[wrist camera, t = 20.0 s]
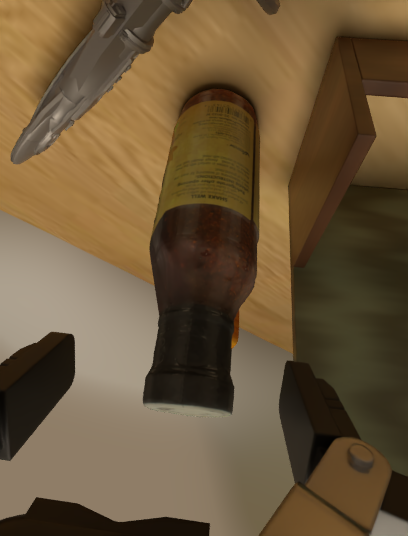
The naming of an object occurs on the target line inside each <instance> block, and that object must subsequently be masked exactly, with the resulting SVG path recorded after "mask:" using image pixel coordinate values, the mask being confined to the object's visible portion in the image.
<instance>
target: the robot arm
mask: <svg viewBox="0 0 408 536" xmlns="http://www.w3.org/2000/svg"><path fill="white" fill-rule="evenodd" d="M74 375H75V340H74V336H73V335H72V334H66V333H59V332H50V333H49V334H48V335H46V336H45V337H44V338H42V339H41V340H40V341H39V342H37V343H33V344H31V345H29V346H26V347H24V348H22V349H20V350H18V351H17V352H16V353H14V354H13V355H12V356H10V358H9V359H6V360H5V361H4V362H2V363H1V365H0V459H1V460H8V461H10V460H11V459H12V458H13V457H14V455H15V454H16V453H17V452H18V451H19V449H20V448H21V447H22V446H23V445H24V443H25V442H26V441H27V440H28V438H29V437H30V436H31V435H32V434H33V432H34V431H35V430H36V429H37V427H38V426H39V425H40V424H41V422H42V421H43V420H44V419H45V418H46V416H47V415H48V414H49V413H50V411H51V410H52V409H53V408H54V407H55V405H56V404H57V403H58V402H59V400H60V399H61V398H62V397H63V395H64V394H65V393H66V392H67V391H68V389H69V388H70V386H71V385H72V382H73V379H74ZM279 413H280V419H281V424H282V428H283V432H284V436H285V441H286V445H287V450H288V454H289V459H290V462H291V468H292V472H293V476H294V481H295V485H294V486H293V487H292V488H291V490H290V491H289V493H288V494H287V496H286V497H285V498H284V500H283V501H282V503H281V504H280V506H279V507H278V508H277V510H276V511H275V513H274V514H273V516H272V517H271V519H270V520H269V521H268V523H267V524H266V526H265V527H264V528H263V530H262V531H261V533H260V534H259V536H408V477H407V476H405V475H402V474H400V473H397V472H395V471H393V470H392V469H391V466H390V464H389V462H388V460H387V459H386V458H385V456H384V455H383V454H382V453H381V452H380V451H379V450H377V449H376V448H375V447H373V446H372V445H370V444H369V443H367V442H365V441H362V440H361V438H360V436H359V434H358V432H357V430H356V429H355V427H354V425H353V423H352V421H351V419H350V417H349V415H348V414H347V412H346V410H345V408H344V406H343V404H342V402H341V401H340V399H339V397H338V395H337V393H336V391H335V389H334V388H333V387H332V386H331V385H329V384H328V383H327V382H326V381H325V380H324V379H320V378H316V377H315V375H314V373H313V371H312V369H311V367H310V365H309V363H304V362H296V361H287V362H286V365H285V369H284V375H283V381H282V387H281V393H280V399H279ZM209 527H210V523H203V522H197V521H190V520H183V519H177V518H169V517H161V518H153V519H144V520H136V521H127V522H116V521H113V520H111V519H109V518H107V517H104V516H103V515H100V514H98V513H96V512H94V511H92V510H90V509H88V508H86V507H84V506H82V505H80V504H77V503H71V502H64V501H57V500H51V499H44V498H38V497H36V499H35V500H34V502H33V503H32V505H31V506H30V508H29V510H28V511H27V513H26V514H23V515H17V516H13V517H9V518H6V519H3V520H0V536H209V529H210V528H209Z"/></svg>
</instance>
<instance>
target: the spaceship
mask: <svg viewBox="0 0 408 536" xmlns="http://www.w3.org/2000/svg"><path fill="white" fill-rule="evenodd" d="M191 2H192V0H102V3H101V7H102V8H101V10H100V11H99V13H98V14H97V16H96V17H95V19H94V20H93V23H94V24H93V29H92V30H91V31H90V33H89V34H88V35H87V36H86V37H85V38H84V39H83V41H82V42H81V43H80V44H79V46H78V47H77V48H76V49H75V51H74V52H73V53H72V54H71V56H70V57H69V58H68V60H67V61H66V62H65V64H64V65H63V67H62V68H61V69H60V71H59V72H58V74H57V75H56V77H55V78H54V80H53V81H52V83H51V84H50V86H49V88H48V89H47V91H46V92H45V94H44V96H43V97H42V99H41V101H40V103H39V105H38V107H37V109H36V111H35V113H34V115H33V117H32V119H31V122H30V123H29V125H28V126H27V127H26V128H24V129H23V133H22V134H21V135H20V137H19V139H18V141H17V143H16V145H15V146H14V148H13V150H12V153H11V161H12V162H13V164H21V163H23V162H24V161H26V160H28V159H29V158H31V157H32V156H34V155H38V154H40V153H41V152H43V151H45V150H46V149H48V148H49V147H50V146H51V145H52V144H53V143H54V142H55V141H56V140H57V138H58V137H59V136H60V133H61V132H62V131H63V130H64V129H65V128H66V129H65V130H66V131H67V129H68V128H70V127H71V126H73V124H74V122H75V120H78V119H80V118H81V117H82V116H83V115H84V114H85V113H86V112H87V111H89V110H90V109H91V108H92V107H93V106H94V105H95V104H96V103H97V102H98V101H99V100H100V99H101V98H102V96H103V95H104V94H105V93H106V92H109V91H110V90H112V89H113V86H112V85H113V84H114V83H117V82H118V81H119V80H121V78H122V77H121V75H122V74H123V73H124V72H125V73H126V71H127V70H129V69H130V68H131V64H132V62H133V61H134V59H135V58H136V57H137V56H138V55H139V54H144V53H146V52H149V51H150V49H151V46H153V43H154V39H153V36H154V34H155V31H156V29H157V28H158V27H159V26H160V25H161V23H162V22H163V21H164V20H165V19H166V18H167V16H168V15H169V14H170V13H171V12H172V11H173V12H174V13H176V14H180V13H182V12H183V11H185V10H186V8H188V7H189V5H190V3H191ZM257 2H258V3H259V4H260V6H261V7H262V8H263V10H264V11H265V12H266V13H267V14H268V15H272V14H276V13H277V11H278V9H279V7H280V3H279V0H257ZM125 70H126V71H125Z"/></svg>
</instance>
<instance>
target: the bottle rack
mask: <svg viewBox="0 0 408 536" xmlns="http://www.w3.org/2000/svg"><path fill="white" fill-rule="evenodd" d="M366 95H373V96H387V97H401V98H408V41H395V40H379V39H364V38H350V37H336V40H335V43H334V46H333V49H332V52H331V56H330V59H329V62H328V65H327V68H326V71H325V74H324V77H323V80H322V83H321V87H320V90H319V93H318V96H317V99H316V102H315V105H314V108H313V111H312V114H311V117H310V121H309V124H308V127H307V130H306V133H305V136H304V139H303V142H302V145H301V148H300V152H299V155H298V158H297V161H296V164H295V167H294V170H293V173H292V176H291V179H290V183H289V186H288V194H289V228H290V262H291V295H292V329H293V361H296V362H304V363H309V365H310V367H311V369H312V371H313V373H314V375H315V377H316V378H320V379H324V380H325V381H326V382H327V383H328V384H329V385H331V386H332V387H333V388H334V389H335V391H336V393H337V395H338V397H339V399H340V401H341V402H342V404H343V406H344V408H345V410H346V412H347V414H348V415H349V417H350V419H351V421H352V423H353V425H354V427H355V429H356V430H357V432H358V434H359V436H360V438H361V440H362V441H365V442H367V443H369V444H370V445H372V446H373V447H375V448H376V449H377V450H379V451H380V452H381V453H382V454H383V455H384V456H385V458H386V459H387V460H388V462H389V464H390V466H391V469H392V470H393V471H395V472H397V473H400V474H402V475H405V476H407V477H408V190H399V189H388V188H376V187H365V186H354V185H350V184H351V182H352V180H353V178H354V176H355V174H356V173H357V171H358V169H359V167H360V165H361V163H362V162H363V160H364V158H365V156H366V154H367V153H368V151H369V149H370V147H371V145H372V143H373V142H374V140H375V138H376V132H375V128H374V124H373V121H372V117H371V113H370V109H369V106H368V102H367V98H366Z"/></svg>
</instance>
